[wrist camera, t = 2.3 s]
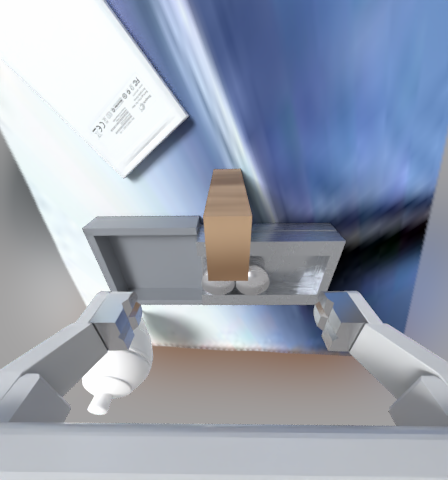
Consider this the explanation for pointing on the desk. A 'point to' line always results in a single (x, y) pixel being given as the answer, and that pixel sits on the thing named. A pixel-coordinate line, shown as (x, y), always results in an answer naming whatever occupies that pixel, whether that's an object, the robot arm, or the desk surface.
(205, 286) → the shiny gray ball
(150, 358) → the white vase
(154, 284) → the tray
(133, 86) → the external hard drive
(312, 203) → the desk surface
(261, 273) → the silver metal ball
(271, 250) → the slot block
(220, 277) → the tan long rectangular block
